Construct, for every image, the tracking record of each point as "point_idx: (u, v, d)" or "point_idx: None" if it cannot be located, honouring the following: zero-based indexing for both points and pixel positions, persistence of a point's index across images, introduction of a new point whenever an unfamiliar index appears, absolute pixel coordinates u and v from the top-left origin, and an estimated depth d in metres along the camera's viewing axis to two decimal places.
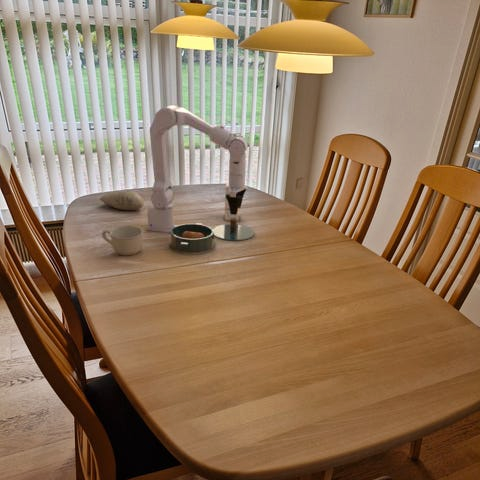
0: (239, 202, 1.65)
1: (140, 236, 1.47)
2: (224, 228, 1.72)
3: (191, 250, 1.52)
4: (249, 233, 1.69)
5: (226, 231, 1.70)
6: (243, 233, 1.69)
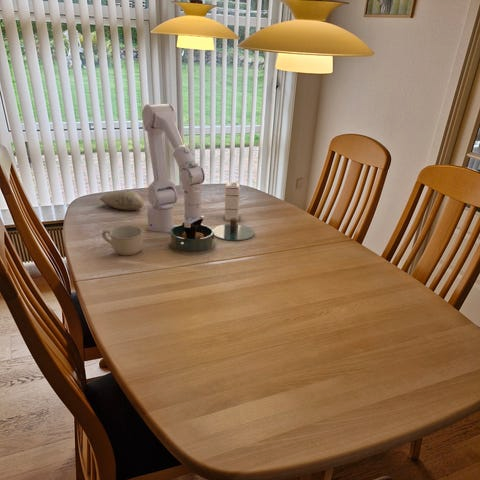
0: None
1: (140, 236, 1.47)
2: (224, 228, 1.72)
3: (191, 250, 1.52)
4: (249, 233, 1.69)
5: (226, 231, 1.70)
6: (243, 233, 1.69)
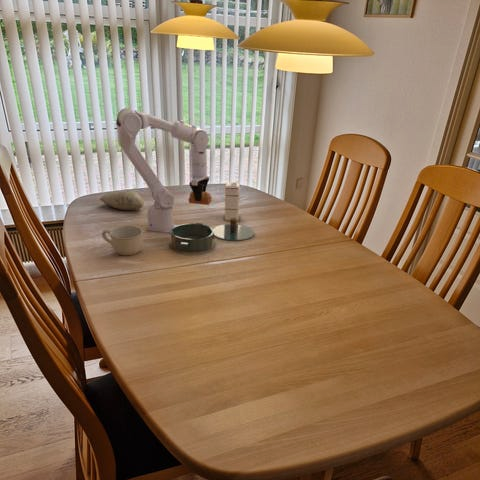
0: (203, 191, 1.73)
1: (140, 236, 1.47)
2: (224, 228, 1.72)
3: (191, 250, 1.52)
4: (249, 233, 1.69)
5: (226, 231, 1.70)
6: (243, 233, 1.69)
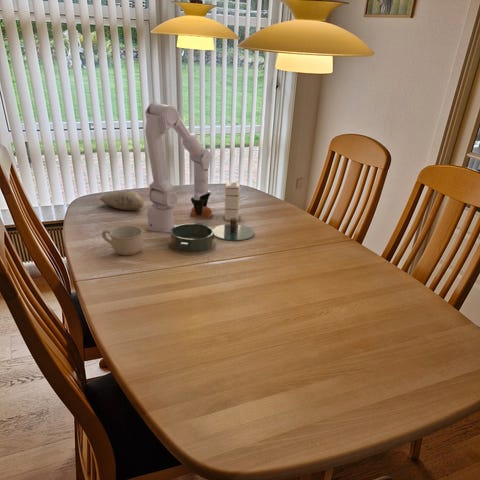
0: (204, 204, 1.86)
1: (140, 236, 1.47)
2: (224, 228, 1.72)
3: (191, 250, 1.52)
4: (249, 233, 1.69)
5: (226, 231, 1.70)
6: (243, 233, 1.69)
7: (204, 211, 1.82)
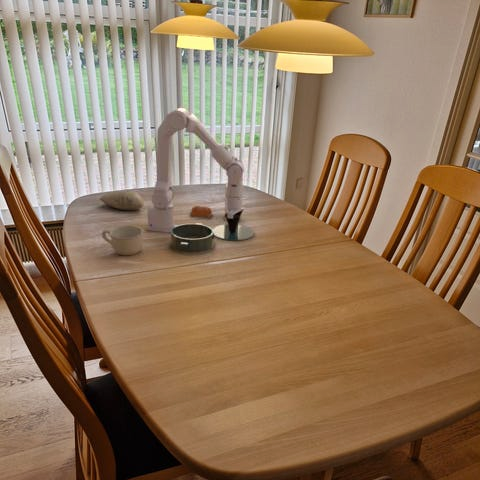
0: None
1: (140, 236, 1.47)
2: (224, 228, 1.72)
3: (191, 250, 1.52)
4: (249, 233, 1.69)
5: (226, 231, 1.70)
6: (243, 233, 1.69)
7: (204, 211, 1.82)
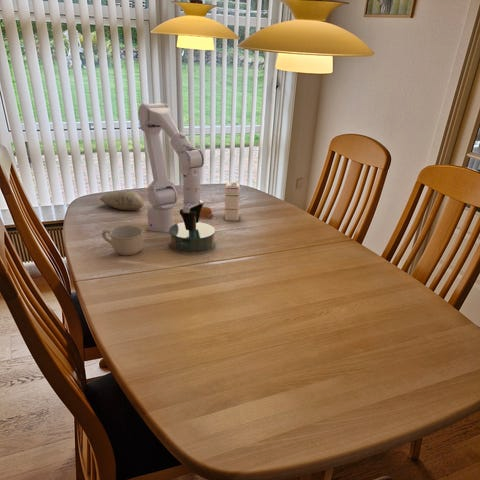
0: (196, 217, 1.57)
1: (140, 236, 1.47)
2: (183, 226, 1.59)
3: (191, 250, 1.52)
4: (210, 231, 1.55)
5: (185, 229, 1.56)
6: (203, 231, 1.55)
7: (204, 211, 1.82)
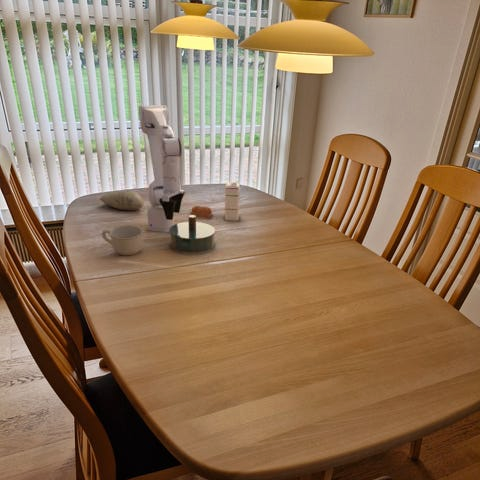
0: (177, 206, 1.56)
1: (140, 236, 1.47)
2: (183, 226, 1.59)
3: (191, 250, 1.52)
4: (210, 231, 1.55)
5: (185, 229, 1.56)
6: (203, 231, 1.55)
7: (204, 211, 1.82)
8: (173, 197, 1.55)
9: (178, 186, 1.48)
